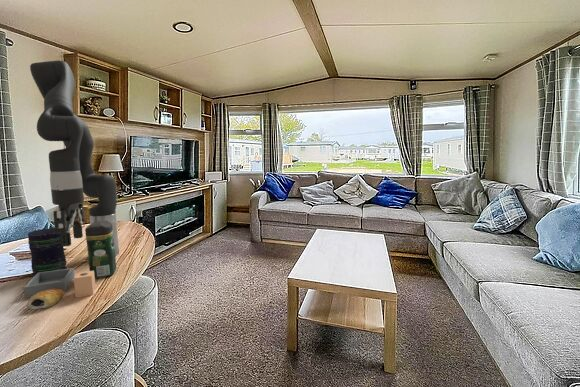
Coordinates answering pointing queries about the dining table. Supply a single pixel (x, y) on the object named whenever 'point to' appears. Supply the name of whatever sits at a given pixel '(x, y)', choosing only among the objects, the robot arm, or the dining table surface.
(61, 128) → the robot arm
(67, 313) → the dining table surface
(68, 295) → the dining table surface
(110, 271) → the coffee jar
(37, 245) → the storage jar
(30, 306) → the pastry
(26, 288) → the charcoal tray
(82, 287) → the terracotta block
